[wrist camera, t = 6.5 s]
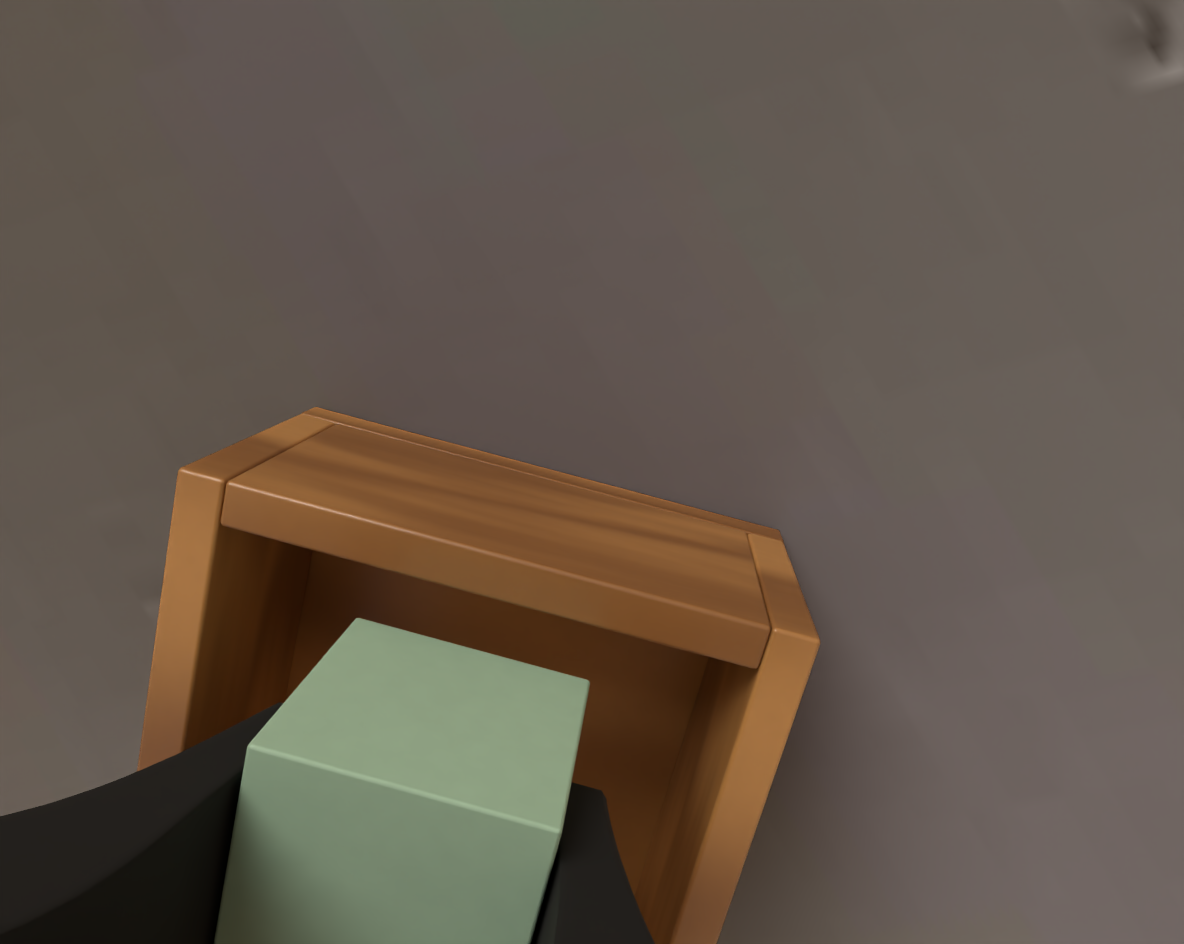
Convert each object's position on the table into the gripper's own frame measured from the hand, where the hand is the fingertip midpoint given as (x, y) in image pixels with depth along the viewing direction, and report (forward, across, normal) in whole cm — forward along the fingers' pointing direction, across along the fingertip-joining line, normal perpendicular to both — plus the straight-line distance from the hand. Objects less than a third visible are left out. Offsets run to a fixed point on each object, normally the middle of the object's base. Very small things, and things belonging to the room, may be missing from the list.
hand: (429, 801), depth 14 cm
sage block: (+1, 0, 0) cm, 1 cm away
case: (+7, 0, +1) cm, 7 cm away
